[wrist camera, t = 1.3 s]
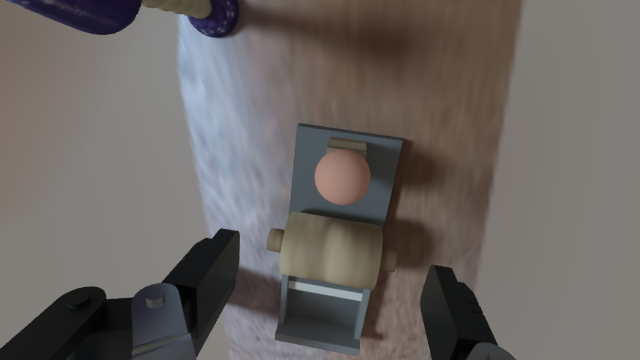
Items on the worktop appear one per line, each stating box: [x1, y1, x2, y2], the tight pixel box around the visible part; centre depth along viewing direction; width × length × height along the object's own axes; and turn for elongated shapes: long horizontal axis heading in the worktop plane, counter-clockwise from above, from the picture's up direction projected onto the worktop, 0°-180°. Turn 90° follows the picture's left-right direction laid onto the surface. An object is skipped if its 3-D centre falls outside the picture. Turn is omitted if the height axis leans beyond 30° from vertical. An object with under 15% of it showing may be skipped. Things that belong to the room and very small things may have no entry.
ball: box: [315, 149, 371, 205], centre depth 23 cm, size 4×4×4 cm
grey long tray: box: [275, 123, 403, 356], centre depth 30 cm, size 23×9×3 cm, turn 173°
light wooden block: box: [326, 137, 367, 160], centre depth 26 cm, size 3×3×4 cm
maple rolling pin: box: [267, 211, 397, 290], centre depth 28 cm, size 11×6×6 cm, turn 83°
